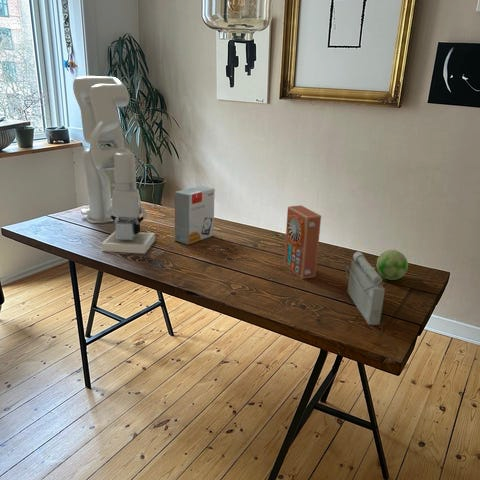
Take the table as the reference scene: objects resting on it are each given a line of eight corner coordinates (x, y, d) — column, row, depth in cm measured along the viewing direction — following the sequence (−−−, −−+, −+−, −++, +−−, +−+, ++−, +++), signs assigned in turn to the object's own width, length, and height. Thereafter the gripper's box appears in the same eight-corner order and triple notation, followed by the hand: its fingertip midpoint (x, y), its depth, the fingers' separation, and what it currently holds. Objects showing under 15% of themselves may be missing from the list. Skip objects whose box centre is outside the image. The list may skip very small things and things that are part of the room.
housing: (125, 229, 176) (124, 214, 174) (140, 230, 176) (139, 215, 174) (116, 238, 167) (115, 222, 165) (132, 239, 167) (131, 223, 164)
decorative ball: (371, 280, 150) (375, 252, 146) (379, 270, 158) (383, 243, 154) (401, 288, 145) (406, 259, 142) (408, 277, 153) (413, 249, 150)
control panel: (301, 281, 148) (280, 263, 160) (320, 278, 150) (297, 261, 163) (307, 218, 140) (283, 205, 153) (326, 216, 143) (301, 203, 156)
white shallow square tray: (102, 251, 167) (101, 243, 166) (115, 238, 180) (114, 230, 179) (144, 253, 166) (144, 245, 165) (154, 240, 179) (154, 233, 178)
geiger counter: (391, 278, 118) (360, 244, 142) (367, 278, 118) (340, 244, 141) (383, 325, 123) (354, 284, 147) (360, 325, 123) (335, 284, 146)
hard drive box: (188, 245, 175) (187, 195, 168) (174, 241, 179) (172, 191, 172) (214, 235, 186) (214, 188, 179) (200, 231, 191) (200, 184, 184)
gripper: (98, 187, 162) (102, 234, 168) (146, 190, 161) (148, 237, 167) (106, 182, 169) (109, 228, 175) (151, 185, 168) (153, 230, 174)
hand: (128, 232), depth 171 cm, fingers closed on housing, 6 cm apart
